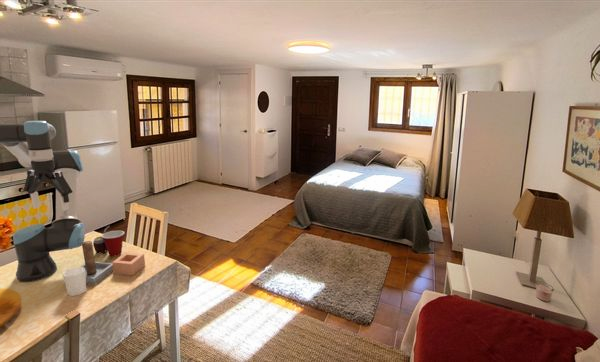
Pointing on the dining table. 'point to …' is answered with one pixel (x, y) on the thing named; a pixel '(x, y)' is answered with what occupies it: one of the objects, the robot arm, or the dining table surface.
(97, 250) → the mate gourd
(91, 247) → the walnut dowel
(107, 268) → the grey tray
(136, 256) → the terracotta block
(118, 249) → the plastic cup
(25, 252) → the robot arm
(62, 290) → the dining table surface
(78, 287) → the white cup
